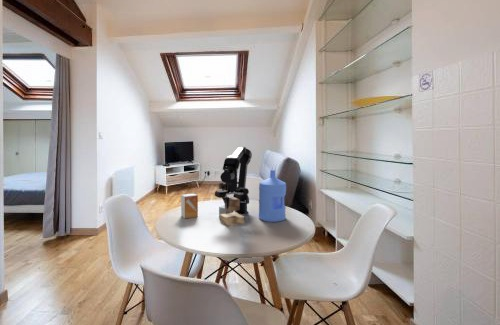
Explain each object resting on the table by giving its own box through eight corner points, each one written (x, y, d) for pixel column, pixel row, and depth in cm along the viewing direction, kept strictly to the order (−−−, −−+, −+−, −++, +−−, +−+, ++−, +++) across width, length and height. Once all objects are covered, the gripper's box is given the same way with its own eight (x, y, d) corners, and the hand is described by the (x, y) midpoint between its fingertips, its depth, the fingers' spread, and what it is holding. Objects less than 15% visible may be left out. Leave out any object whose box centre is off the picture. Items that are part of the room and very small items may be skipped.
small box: (184, 219, 146) (184, 196, 144) (181, 216, 151) (180, 194, 150) (198, 216, 150) (197, 195, 149) (194, 214, 155) (193, 193, 154)
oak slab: (235, 218, 148) (235, 211, 148) (244, 223, 140) (244, 216, 139) (220, 221, 143) (220, 214, 143) (227, 226, 135) (227, 219, 134)
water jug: (254, 219, 146) (254, 171, 143) (265, 212, 159) (266, 168, 157) (279, 224, 138) (280, 173, 136) (289, 216, 152) (290, 170, 149)
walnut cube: (233, 207, 145) (234, 197, 144) (239, 209, 140) (239, 199, 140) (224, 209, 142) (224, 198, 141) (230, 211, 137) (230, 200, 136)
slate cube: (226, 214, 155) (226, 204, 154) (233, 216, 151) (233, 206, 151) (219, 216, 150) (219, 206, 150) (226, 219, 147) (226, 208, 146)
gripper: (238, 176, 151) (238, 202, 153) (210, 179, 141) (210, 206, 142) (249, 179, 142) (249, 206, 144) (219, 182, 131) (219, 211, 133)
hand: (232, 207), depth 141 cm, fingers closed on walnut cube, 6 cm apart
